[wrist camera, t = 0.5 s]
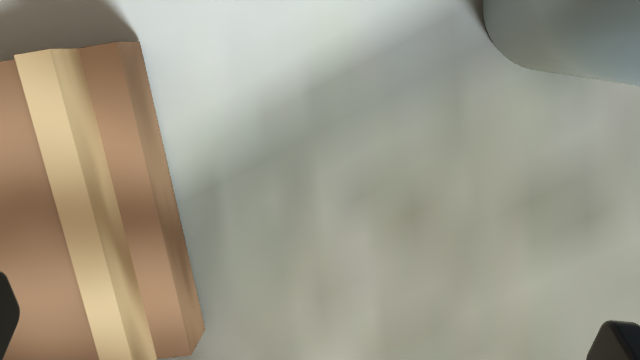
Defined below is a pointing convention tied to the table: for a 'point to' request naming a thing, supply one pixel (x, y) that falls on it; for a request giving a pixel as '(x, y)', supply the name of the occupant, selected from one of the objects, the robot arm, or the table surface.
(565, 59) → the spectacles tube
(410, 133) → the table surface
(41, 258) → the display plinth
